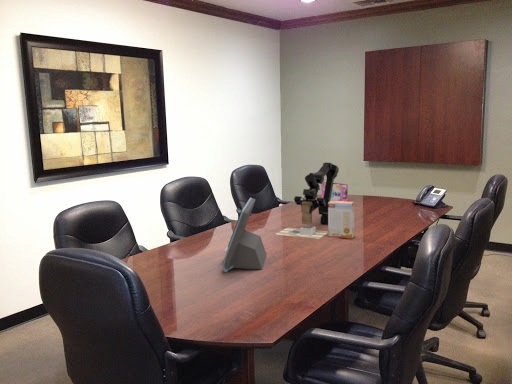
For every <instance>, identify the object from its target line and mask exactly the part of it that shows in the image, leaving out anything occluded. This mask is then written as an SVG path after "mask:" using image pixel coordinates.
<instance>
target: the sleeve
mask: <svg viewBox="0 0 512 384" xmlns="http://www.w3.org/2000/svg"><path fill="white" fill-rule="evenodd" d="M299 229H300V235H308V236H312V235H314V234H315V233H316V230H317V226H315V225H314V226H313V225H303V226H301V227H299Z"/></svg>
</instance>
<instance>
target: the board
mask: <svg viewBox="0 0 512 384" xmlns="http://www.w3.org/2000/svg"><path fill="white" fill-rule="evenodd" d="M327 234H328V230H318V229H316V233H315V234H314V235H312V236H308V235H300V228H297V227H296V228H295V227H286V228H284V229H282V230H279V231H278V232H276V233H275V235H279V236H288V237H296V238H308V239H318V240H320V239H321V238H323V237H324V236H326V235H327Z"/></svg>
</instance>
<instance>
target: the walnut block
mask: <svg viewBox="0 0 512 384" xmlns="http://www.w3.org/2000/svg"><path fill="white" fill-rule="evenodd" d="M311 206H312V202H311V201H304V202H302V209H301V225H307V226H310V225H311V224H312V223H313V212H312V213H311V214H310V213H309V212H310V209H311Z"/></svg>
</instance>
